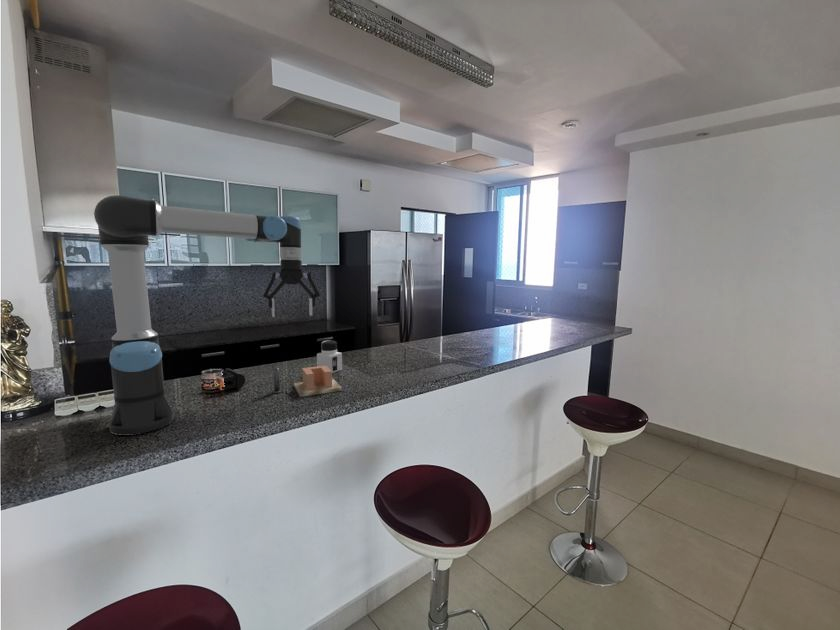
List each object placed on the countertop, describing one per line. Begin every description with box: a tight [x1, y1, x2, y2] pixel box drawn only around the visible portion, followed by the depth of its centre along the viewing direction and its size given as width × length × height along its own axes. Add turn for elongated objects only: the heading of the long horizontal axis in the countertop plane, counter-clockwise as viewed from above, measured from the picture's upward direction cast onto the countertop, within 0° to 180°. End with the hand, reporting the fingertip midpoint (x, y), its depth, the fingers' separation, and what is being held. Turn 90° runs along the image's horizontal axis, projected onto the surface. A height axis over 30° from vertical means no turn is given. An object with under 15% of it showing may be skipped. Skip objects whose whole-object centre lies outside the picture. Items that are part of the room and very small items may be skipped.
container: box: [316, 339, 343, 374], centre depth 167 cm, size 8×8×13 cm
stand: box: [272, 367, 282, 395], centre depth 139 cm, size 3×3×9 cm
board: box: [293, 377, 343, 398], centre depth 144 cm, size 15×13×1 cm
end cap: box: [220, 368, 246, 394], centre depth 143 cm, size 10×7×7 cm
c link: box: [301, 365, 333, 391], centre depth 144 cm, size 9×9×6 cm
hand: (292, 315), depth 147 cm, fingers open, 13 cm apart
